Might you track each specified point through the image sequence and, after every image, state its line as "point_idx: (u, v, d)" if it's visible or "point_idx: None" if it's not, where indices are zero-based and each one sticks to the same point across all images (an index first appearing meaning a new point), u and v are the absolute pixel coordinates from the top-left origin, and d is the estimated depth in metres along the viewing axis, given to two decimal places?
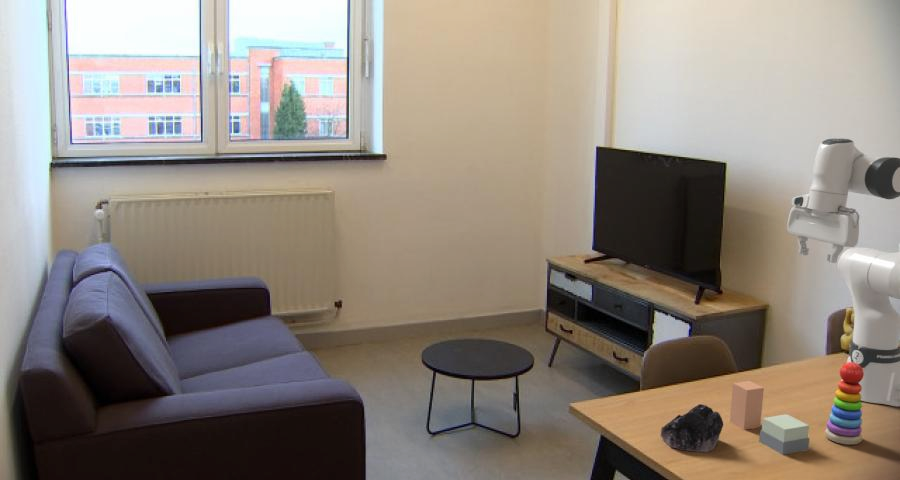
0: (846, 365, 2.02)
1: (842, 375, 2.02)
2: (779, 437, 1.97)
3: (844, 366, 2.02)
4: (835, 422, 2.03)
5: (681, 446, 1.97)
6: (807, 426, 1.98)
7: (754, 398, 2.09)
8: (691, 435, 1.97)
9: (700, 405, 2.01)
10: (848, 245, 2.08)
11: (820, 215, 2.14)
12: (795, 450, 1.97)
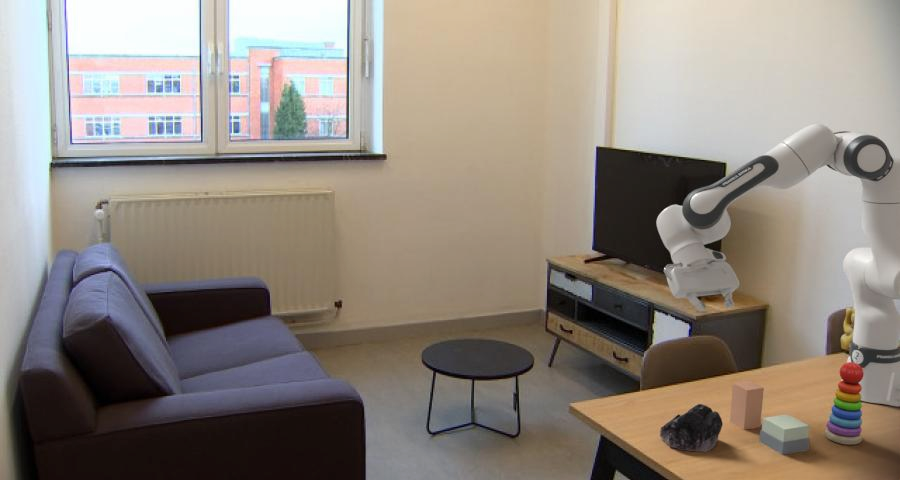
0: (846, 365, 2.02)
1: (842, 375, 2.02)
2: (779, 437, 1.97)
3: (844, 366, 2.02)
4: (835, 422, 2.03)
5: (680, 446, 1.97)
6: (807, 426, 1.98)
7: (754, 398, 2.09)
8: (690, 434, 1.97)
9: (699, 405, 2.01)
10: (676, 296, 2.17)
11: None
12: (794, 450, 1.97)
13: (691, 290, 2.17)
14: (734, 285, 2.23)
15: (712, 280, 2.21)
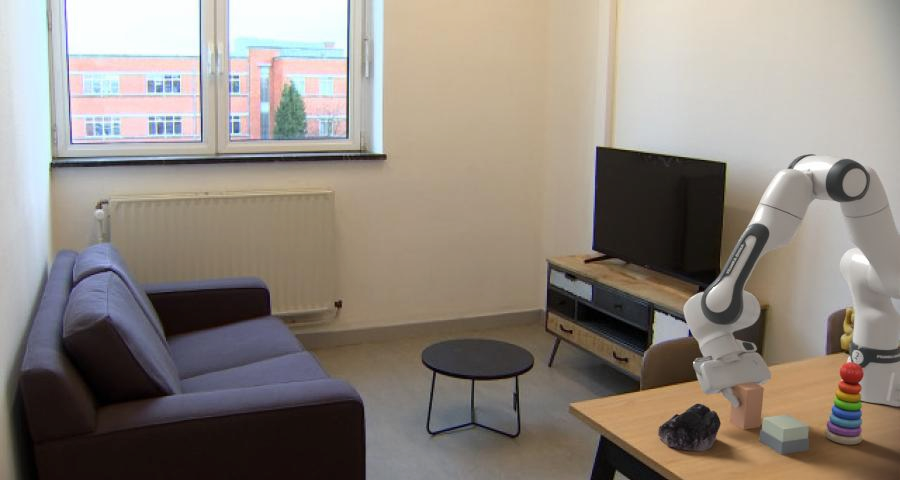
0: (846, 365, 2.02)
1: (842, 375, 2.02)
2: (778, 437, 1.97)
3: (844, 366, 2.02)
4: (835, 422, 2.03)
5: (678, 445, 1.97)
6: (807, 426, 1.98)
7: (754, 398, 2.09)
8: (688, 434, 1.98)
9: (697, 404, 2.01)
10: (706, 392, 2.10)
11: None
12: (794, 450, 1.97)
13: (722, 387, 2.09)
14: (766, 378, 2.16)
15: (743, 374, 2.14)
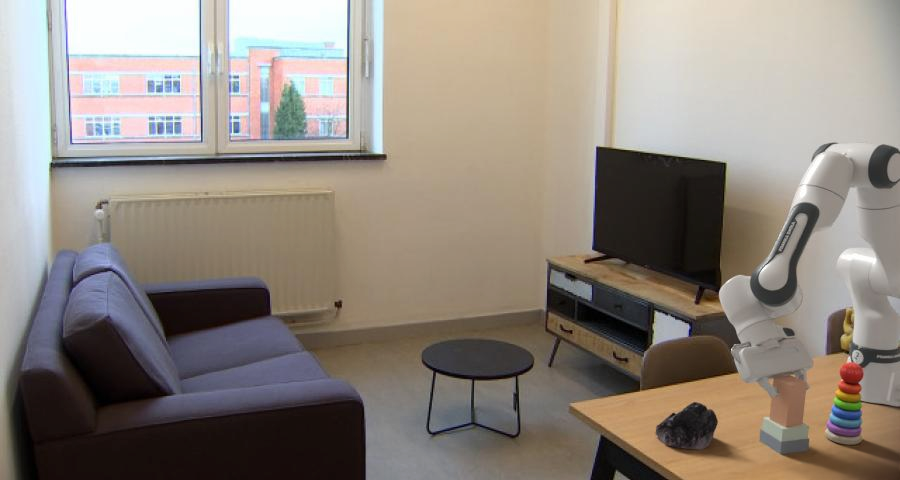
0: (846, 365, 2.02)
1: (842, 375, 2.02)
2: (777, 437, 1.97)
3: (844, 366, 2.02)
4: (835, 422, 2.03)
5: (676, 444, 1.98)
6: (807, 427, 1.98)
7: (797, 393, 1.96)
8: (686, 432, 1.98)
9: (694, 403, 2.02)
10: (746, 381, 1.97)
11: None
12: (793, 450, 1.97)
13: (763, 374, 1.96)
14: (808, 365, 2.03)
15: (784, 361, 2.01)
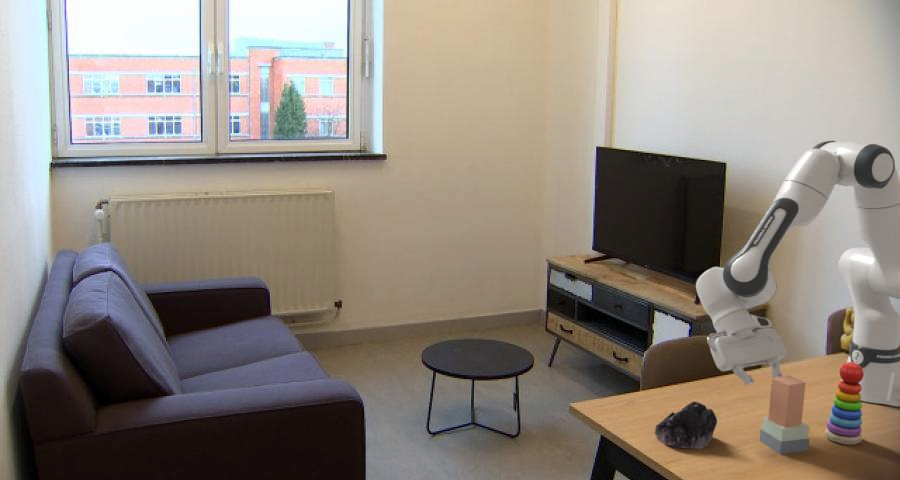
0: (846, 365, 2.02)
1: (842, 375, 2.02)
2: (777, 437, 1.97)
3: (844, 366, 2.02)
4: (835, 422, 2.03)
5: (676, 443, 1.98)
6: (807, 427, 1.98)
7: (796, 394, 1.96)
8: (685, 432, 1.99)
9: (694, 402, 2.02)
10: (721, 369, 2.03)
11: None
12: (793, 450, 1.97)
13: (737, 362, 2.03)
14: (781, 354, 2.09)
15: (758, 350, 2.07)
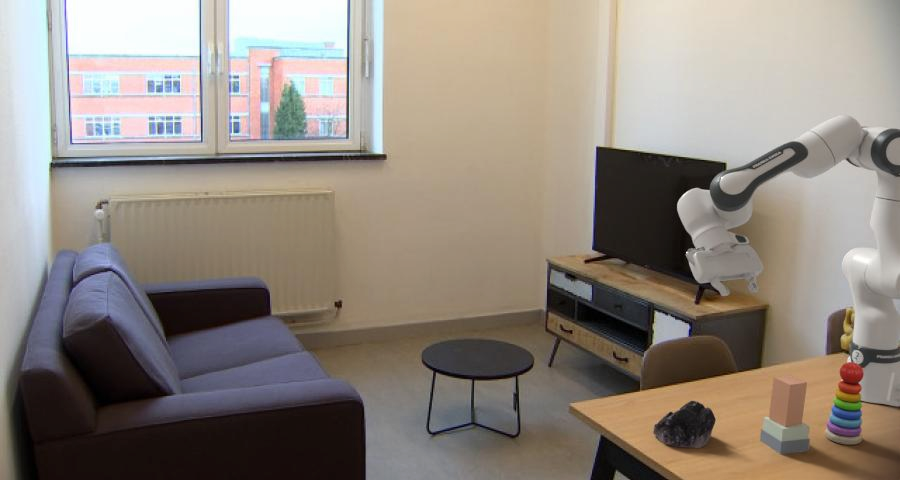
0: (846, 365, 2.02)
1: (842, 375, 2.02)
2: (778, 436, 1.97)
3: (844, 366, 2.02)
4: (835, 422, 2.03)
5: (675, 443, 1.98)
6: (807, 427, 1.97)
7: (797, 394, 1.96)
8: (684, 431, 1.99)
9: (692, 401, 2.03)
10: (699, 280, 2.12)
11: None
12: (794, 450, 1.97)
13: (714, 274, 2.11)
14: (758, 269, 2.18)
15: (735, 264, 2.16)
